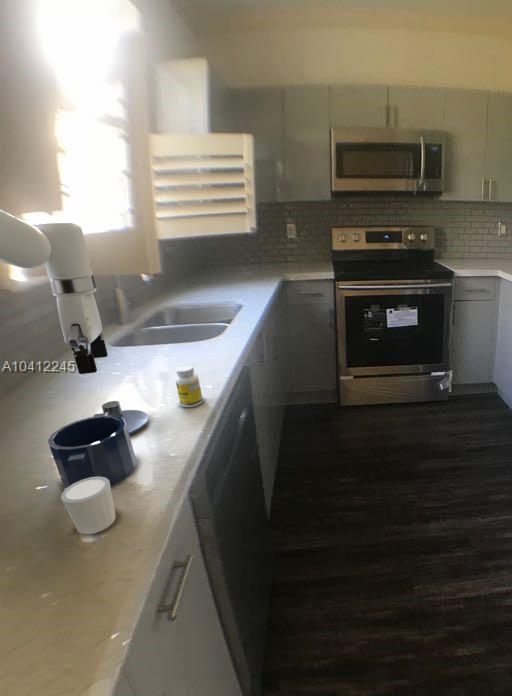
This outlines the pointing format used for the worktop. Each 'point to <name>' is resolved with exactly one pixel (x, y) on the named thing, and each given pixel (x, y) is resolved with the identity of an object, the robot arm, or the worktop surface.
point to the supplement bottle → (188, 387)
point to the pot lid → (126, 416)
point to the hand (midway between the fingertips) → (94, 364)
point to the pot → (93, 450)
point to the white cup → (90, 504)
